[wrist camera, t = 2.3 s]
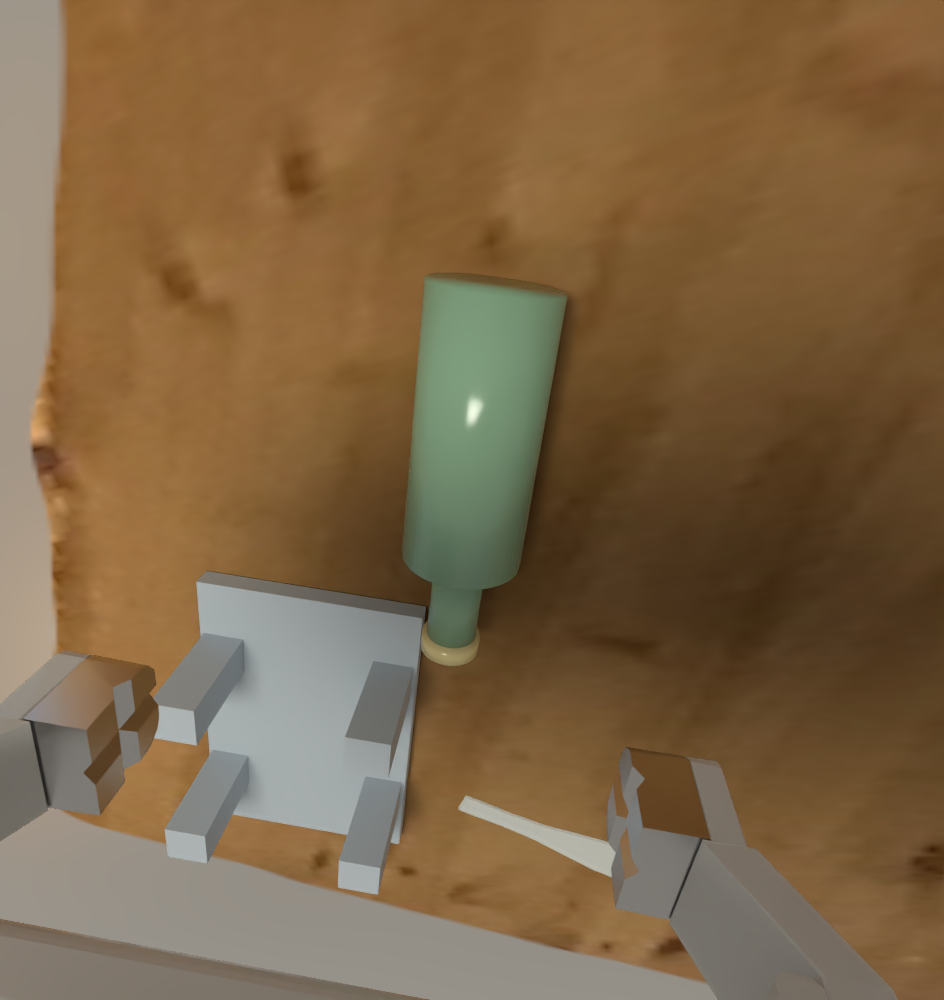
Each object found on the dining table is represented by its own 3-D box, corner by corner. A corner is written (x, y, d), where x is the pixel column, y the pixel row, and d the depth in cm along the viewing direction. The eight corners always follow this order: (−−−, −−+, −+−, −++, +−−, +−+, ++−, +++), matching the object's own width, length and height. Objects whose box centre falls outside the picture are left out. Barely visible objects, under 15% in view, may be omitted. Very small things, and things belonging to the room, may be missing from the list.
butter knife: (626, 888, 38) (651, 859, 37) (245, 740, 36) (258, 705, 35) (626, 881, 39) (650, 852, 37) (248, 734, 37) (261, 699, 36)
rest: (206, 570, 32) (136, 647, 26) (426, 606, 31) (401, 691, 26) (222, 797, 39) (169, 894, 33) (402, 828, 38) (378, 932, 33)
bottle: (436, 268, 25) (412, 283, 20) (565, 286, 25) (570, 305, 20) (405, 606, 32) (383, 674, 27) (506, 622, 31) (500, 693, 27)
